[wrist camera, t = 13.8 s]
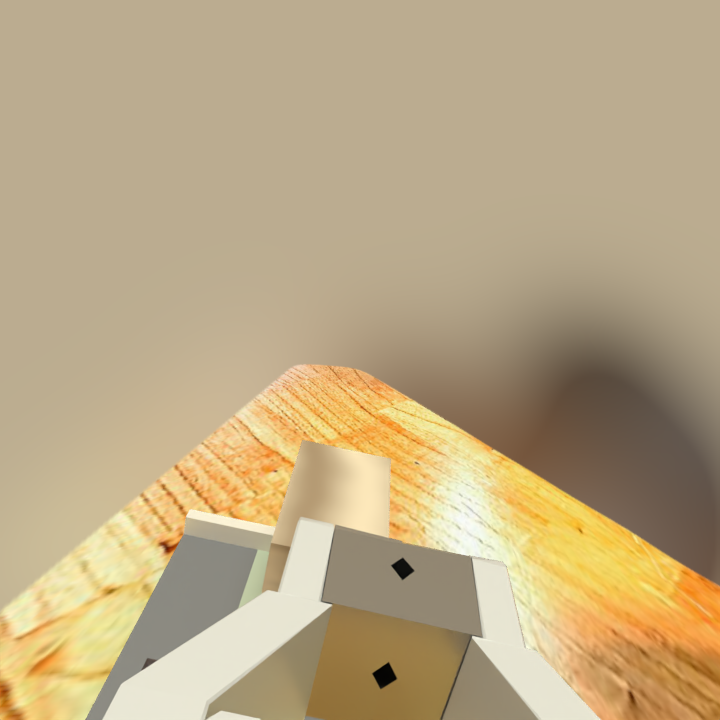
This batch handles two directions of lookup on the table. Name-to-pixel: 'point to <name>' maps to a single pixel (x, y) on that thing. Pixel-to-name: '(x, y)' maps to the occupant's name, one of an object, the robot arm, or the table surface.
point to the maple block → (330, 498)
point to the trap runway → (193, 593)
